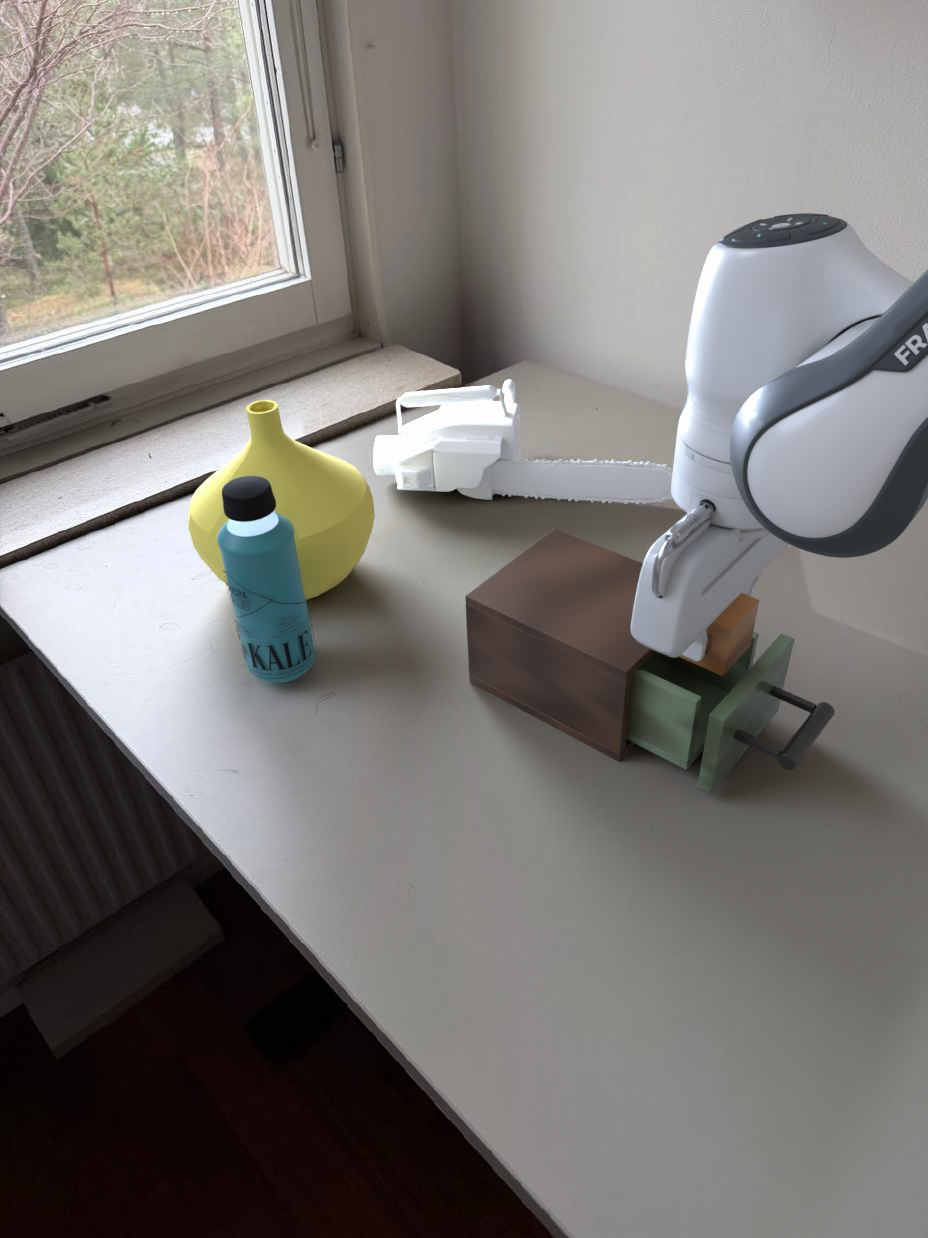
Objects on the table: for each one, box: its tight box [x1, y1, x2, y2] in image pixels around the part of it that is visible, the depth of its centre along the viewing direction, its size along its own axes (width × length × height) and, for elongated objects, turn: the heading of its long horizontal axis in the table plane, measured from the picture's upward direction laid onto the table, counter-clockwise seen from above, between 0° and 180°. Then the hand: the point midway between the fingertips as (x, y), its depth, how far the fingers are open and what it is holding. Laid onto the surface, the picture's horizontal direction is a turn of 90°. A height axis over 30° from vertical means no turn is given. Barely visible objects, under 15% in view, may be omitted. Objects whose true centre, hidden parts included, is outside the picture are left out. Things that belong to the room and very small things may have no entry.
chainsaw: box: [372, 379, 673, 505], centre depth 108 cm, size 15×35×12 cm, turn 82°
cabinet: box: [464, 527, 655, 762], centre depth 81 cm, size 16×13×10 cm
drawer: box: [626, 631, 836, 795], centre depth 75 cm, size 20×12×8 cm, turn 50°
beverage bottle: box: [217, 476, 318, 684], centre depth 80 cm, size 6×7×20 cm
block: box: [679, 593, 760, 676], centre depth 71 cm, size 4×4×4 cm
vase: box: [187, 399, 376, 601], centre depth 92 cm, size 18×18×19 cm
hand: (713, 633), depth 71 cm, fingers closed on block, 4 cm apart
